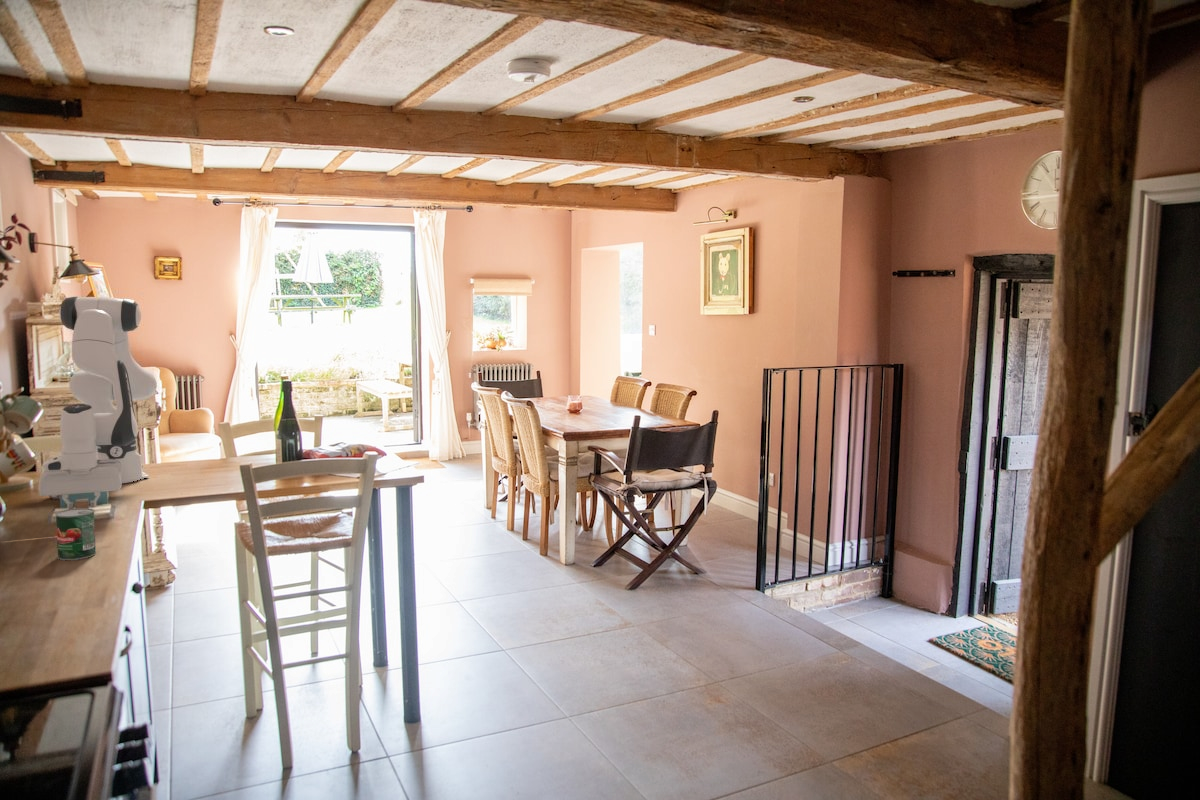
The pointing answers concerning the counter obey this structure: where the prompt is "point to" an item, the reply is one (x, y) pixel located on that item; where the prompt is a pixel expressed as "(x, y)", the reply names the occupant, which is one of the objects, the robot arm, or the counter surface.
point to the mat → (94, 519)
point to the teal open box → (72, 498)
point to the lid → (99, 510)
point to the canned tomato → (75, 534)
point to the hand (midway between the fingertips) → (82, 508)
